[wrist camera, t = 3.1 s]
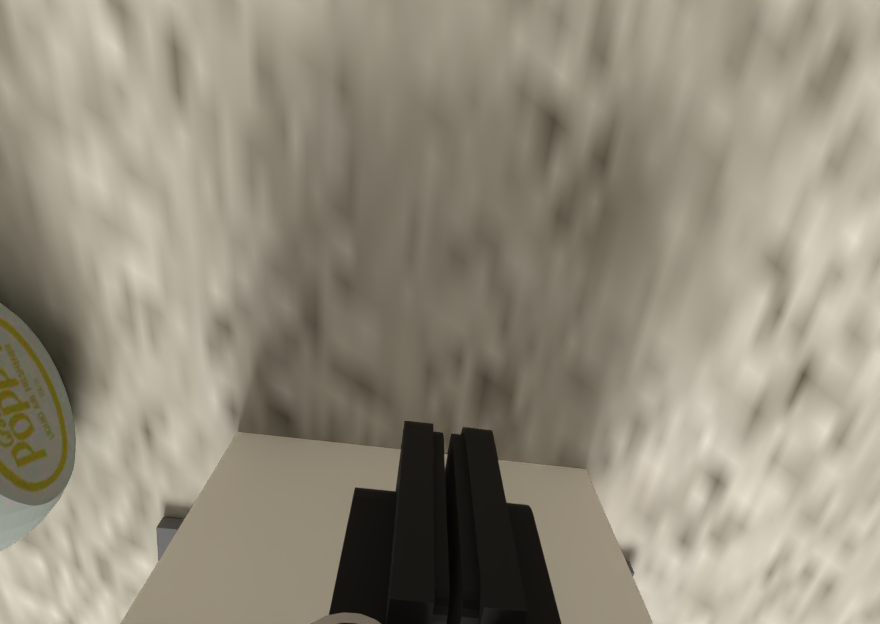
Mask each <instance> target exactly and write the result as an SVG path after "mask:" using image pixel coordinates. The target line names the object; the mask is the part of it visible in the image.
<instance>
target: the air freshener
mask: <svg viewBox="0 0 880 624" xmlns="http://www.w3.org/2000/svg"><path fill="white" fill-rule="evenodd" d="M75 443H76V438H75V427H74V421H73V415H72V410H71V406H70V403H69V399H68V396H67V393H66V390H65V387H64V385H63V382H62V380H61V377H60V375H59V372H58V370H57V369H56V367H55V365H54V363H53V361H52V359H51V357H50V355H49V354H48V352H47V351H46V349H45V348H44V346H43V345H42V343H41V342H40V340H39V339H38V337H37V336H36V335H35V334H34V333H33V332H32V330H31V329H30V328H29V327H28V326H27V325H26V324H25V323H24V322H23V320H22V319H20V318H19V317H18V316H17V315H16V314H14V313H13V312H12V311H10V310H9V309H8V308H7V307H5V306H4V305H3V304H1V303H0V551H2V550H4V549H6V548H8V547H10V546H11V545H13V544H15V543H16V542H17V541H18V540H20V539H21V538H22V537H24V536H25V535H26V534H27V533H29V532H30V531H31V530H32V529H34V528H35V527H36V526H37V525H38V524H39V523H40V522H41V521H42V520H43V519H44V518H45V517H46V515H47V514H48V513H49V512H50V511H51V509H52V508H53V507H54V506H55V504H56V503H57V502H58V500H59V499H60V497H61V495H62V493H63V491H64V489H65V487H66V485H67V483H68V481H69V479H70V477H71V474H72V471H73V467H74V461H75Z"/></svg>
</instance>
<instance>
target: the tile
mask: <svg viewBox="0 0 880 624" xmlns="http://www.w3.org/2000/svg"><path fill="white" fill-rule="evenodd" d="M400 452H401V449H393V448H383V447H374V446H365V445H355V444H346V443H337V442H327V441H318V440H309V439H299V438H290V437H280V436H271V435H262V434H252V433H243V432H237V434H236V436H235V437H234V439H233V440H232V442H231V444H230V445H229V447H228V449H227V450H226V452H225V454H224V455H223V457H222V458H221V460H220V462H219V463H218V465H217V467H216V468H215V470H214V472H213V473H212V475H211V476H210V478H209V480H208V481H207V483H206V485H205V486H204V488H203V490H202V491H201V493H200V494H199V496H198V498H197V499H196V501H195V503H194V504H193V506H192V507H191V509H190V511H189V512H188V514H187V516H186V517H185V519H184V521H183V522H182V524H181V525H180V527H179V529H178V530H177V532H176V534H175V535H174V537H173V539H172V540H171V542H170V543H169V545H168V547H167V548H166V550H165V552H164V553H163V555H162V557H161V558H160V560H159V561H158V563H157V565H156V566H155V568H154V570H153V571H152V573H151V575H150V576H149V578H148V579H147V581H146V583H145V584H144V586H143V588H142V589H141V591H140V593H139V594H138V596H137V597H136V599H135V601H134V602H133V604H132V606H131V607H130V609H129V611H128V612H127V614H126V615H125V617H124V619H123V620H122V622H121V624H311V623H313V622H315V621H317V620H319V619H321V618H323V617H325V616H327V615H329V611H330V607H331V602H332V597H333V592H334V587H335V582H336V577H337V572H338V567H339V562H340V558H341V553H342V548H343V543H344V538H345V533H346V528H347V523H348V518H349V514H350V509H351V504H352V499H353V494H354V490H355V487H357V488H367V489H377V490H387V491H395V490H396V483H397V475H398V468H399V460H400ZM447 455H448V454H444V460H445V467H446V461H447ZM498 462H499V467H500V472H501V478H502V483H503V488H504V493H505V498H506V503H514V504H524V505H529V506H530V507H531V509H532V512H533V515H534V519H535V523H536V527H537V531H538V534H539V538H540V542H541V546H542V550H543V554H544V558H545V562H546V565H547V569H548V573H549V577H550V581H551V585H552V589H553V593H554V596H555V600H556V604H557V608H558V612H559V616H560V620H561V624H653V622H652V620H651V618H650V615H649V613H648V611H647V608H646V606H645V604H644V602H643V599H642V597H641V595H640V592H639V590H638V588H637V585H636V583H635V581H634V579H633V576H632V574H631V572H630V569H629V567H628V565H627V563H626V560H625V558H624V556H623V553H622V551H621V549H620V546H619V544H618V542H617V540H616V537H615V535H614V533H613V530H612V528H611V526H610V523H609V521H608V519H607V517H606V514H605V512H604V510H603V507H602V505H601V503H600V501H599V498H598V496H597V494H596V491H595V489H594V487H593V484H592V482H591V480H590V478H589V475H588V473H587V471H586V469H580V468H571V467H561V466H552V465H543V464H533V463H524V462H514V461H505V460H498Z"/></svg>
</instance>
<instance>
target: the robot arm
mask: <svg viewBox="0 0 880 624" xmlns="http://www.w3.org/2000/svg"><path fill="white" fill-rule="evenodd" d="M311 624H561V620H560V616H559V612H558V608H557V604H556V600H555V596H554V593H553V589H552V585H551V581H550V577H549V573H548V569H547V565H546V562H545V558H544V554H543V550H542V546H541V542H540V538H539V534H538V531H537V527H536V523H535V519H534V515H533V512H532V509H531V507H530V506H529V505H524V504H514V503H506V498H505V493H504V488H503V483H502V478H501V472H500V467H499V462H498V457H497V452H496V447H495V442H494V437H493V433H492V431H491V430H483V429H474V428H465V427H463V429H462V432H461V435H459V434H451V437H450V443H449V449H448V455H447V461H446V467H445V460H444V435H443V433H441V432H433V424H429V423H420V422H411V421H405V423H404V430H403V437H402V445H401V452H400V460H399V468H398V475H397V483H396V490H395V491H387V490H377V489H367V488H357V487H355V490H354V494H353V499H352V504H351V509H350V514H349V518H348V523H347V528H346V533H345V538H344V543H343V548H342V553H341V558H340V562H339V567H338V572H337V577H336V582H335V587H334V592H333V597H332V602H331V607H330V611H329V615H327V616H325V617H323V618H321V619H319V620H317V621H315V622H313V623H311Z"/></svg>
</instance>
